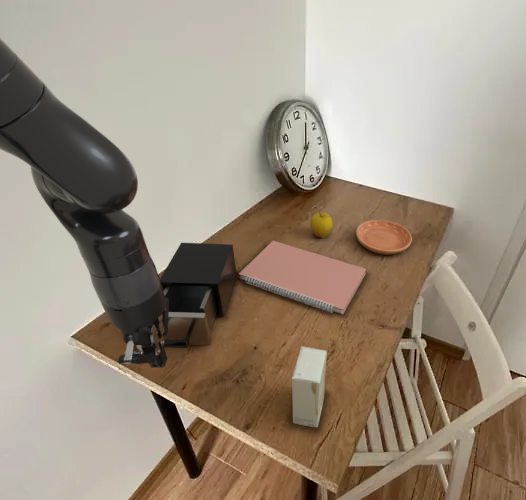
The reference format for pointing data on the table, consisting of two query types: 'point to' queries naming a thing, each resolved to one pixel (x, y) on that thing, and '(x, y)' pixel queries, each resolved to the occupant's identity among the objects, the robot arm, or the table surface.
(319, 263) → the notebook
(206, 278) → the cabinet
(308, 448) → the table surface
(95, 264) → the robot arm
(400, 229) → the saucer
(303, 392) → the cosmetic box
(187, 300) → the drawer
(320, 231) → the apple
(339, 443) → the table surface
